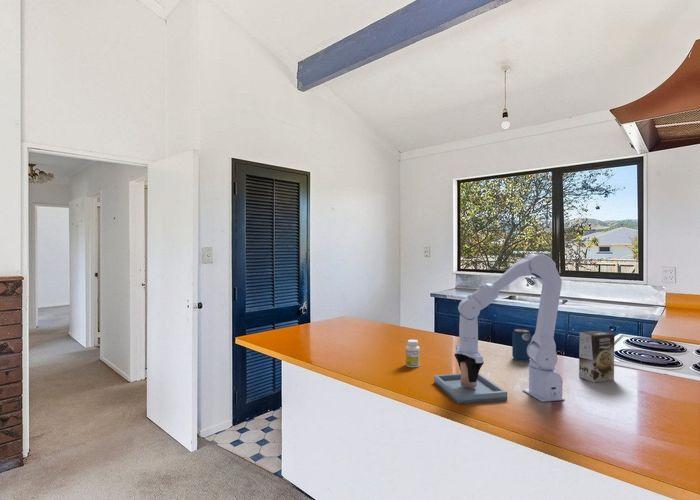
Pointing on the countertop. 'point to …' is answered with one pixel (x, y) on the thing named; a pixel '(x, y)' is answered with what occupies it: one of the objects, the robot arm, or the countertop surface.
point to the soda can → (520, 344)
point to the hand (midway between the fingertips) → (468, 378)
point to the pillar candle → (465, 376)
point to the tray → (470, 389)
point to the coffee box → (596, 356)
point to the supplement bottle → (412, 354)
